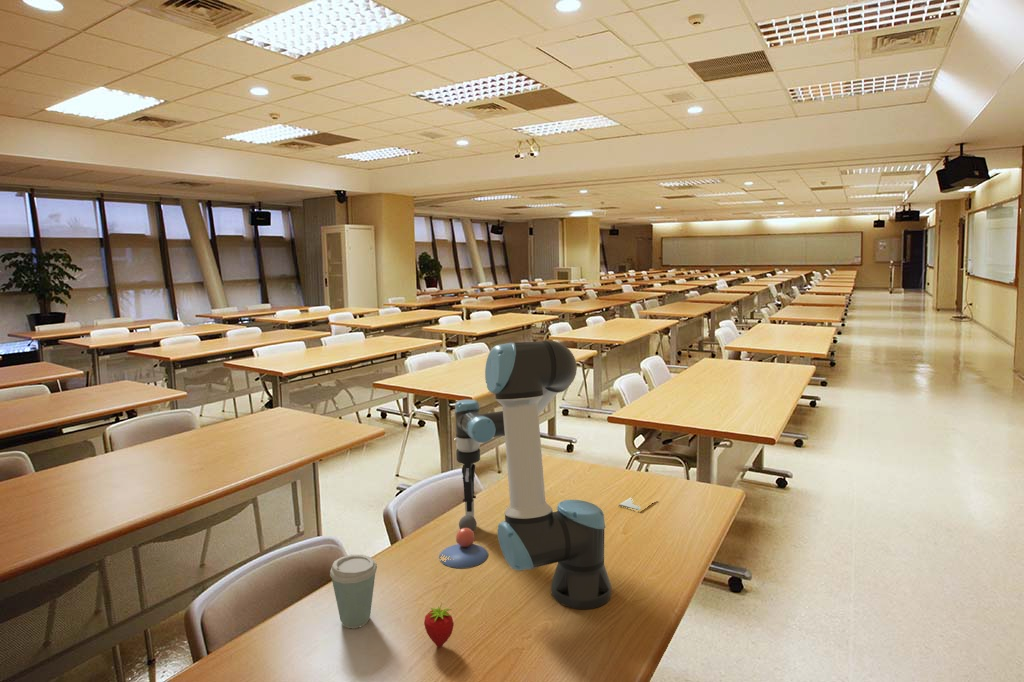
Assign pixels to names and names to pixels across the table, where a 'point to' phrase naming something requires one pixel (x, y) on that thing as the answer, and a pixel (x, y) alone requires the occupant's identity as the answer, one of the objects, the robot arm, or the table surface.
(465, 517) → the grey ball
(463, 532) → the red ball
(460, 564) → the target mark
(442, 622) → the strawberry
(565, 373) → the robot arm
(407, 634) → the table surface
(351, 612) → the disposable coffee cup
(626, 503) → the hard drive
